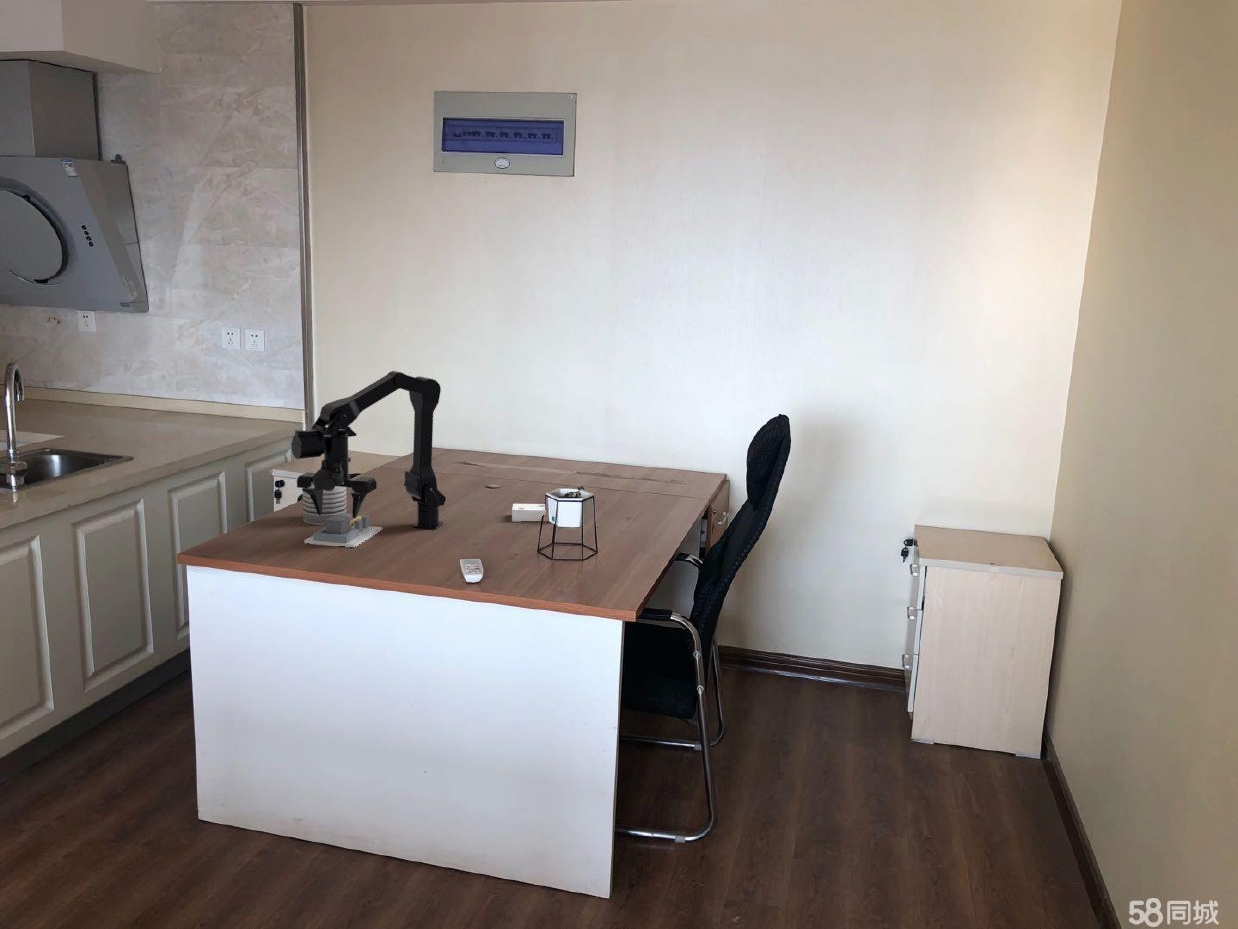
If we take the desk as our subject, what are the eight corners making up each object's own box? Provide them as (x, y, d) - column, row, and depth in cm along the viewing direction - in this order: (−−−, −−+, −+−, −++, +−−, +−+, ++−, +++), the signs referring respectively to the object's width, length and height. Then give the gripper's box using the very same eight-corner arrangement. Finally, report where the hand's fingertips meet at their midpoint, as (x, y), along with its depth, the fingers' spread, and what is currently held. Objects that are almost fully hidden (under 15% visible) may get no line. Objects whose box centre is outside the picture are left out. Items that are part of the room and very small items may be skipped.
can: (356, 519, 266) (355, 476, 263) (322, 527, 256) (321, 482, 254) (327, 512, 272) (326, 470, 270) (293, 520, 263) (292, 476, 260)
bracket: (558, 516, 279) (559, 490, 277) (559, 523, 272) (560, 496, 270) (512, 515, 278) (513, 489, 276) (512, 522, 271) (512, 495, 269)
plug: (354, 523, 259) (353, 505, 258) (368, 524, 258) (368, 506, 257) (326, 539, 243) (325, 519, 242) (341, 540, 243) (340, 521, 242)
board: (335, 526, 258) (335, 512, 258) (382, 530, 256) (382, 516, 256) (304, 543, 242) (304, 528, 241) (353, 548, 240) (353, 533, 239)
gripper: (284, 458, 235) (286, 521, 238) (357, 464, 232) (358, 527, 235) (307, 450, 246) (308, 510, 249) (377, 455, 243) (377, 516, 246)
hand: (337, 516), depth 244 cm, fingers open, 9 cm apart
